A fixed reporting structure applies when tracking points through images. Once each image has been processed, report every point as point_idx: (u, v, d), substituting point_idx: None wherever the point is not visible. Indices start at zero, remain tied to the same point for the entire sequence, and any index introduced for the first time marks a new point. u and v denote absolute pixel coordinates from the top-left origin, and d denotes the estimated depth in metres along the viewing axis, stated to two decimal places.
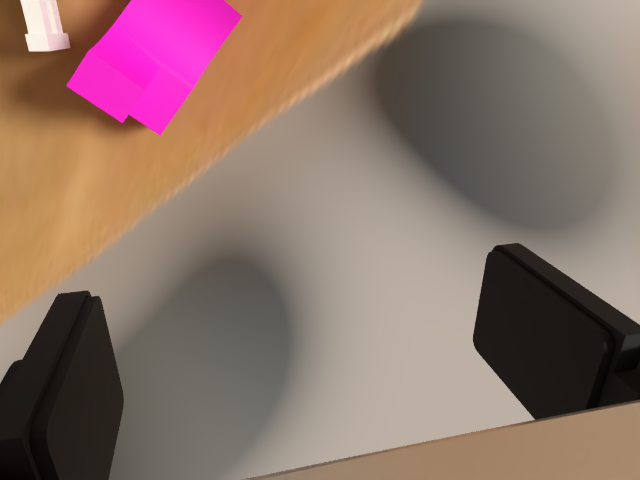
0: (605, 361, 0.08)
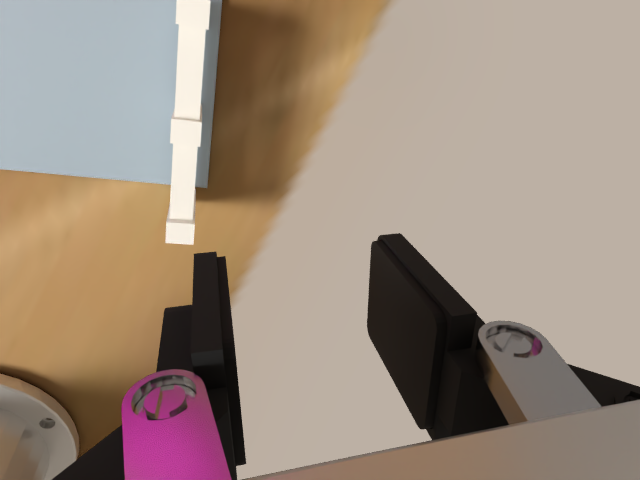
0: (440, 340, 0.09)
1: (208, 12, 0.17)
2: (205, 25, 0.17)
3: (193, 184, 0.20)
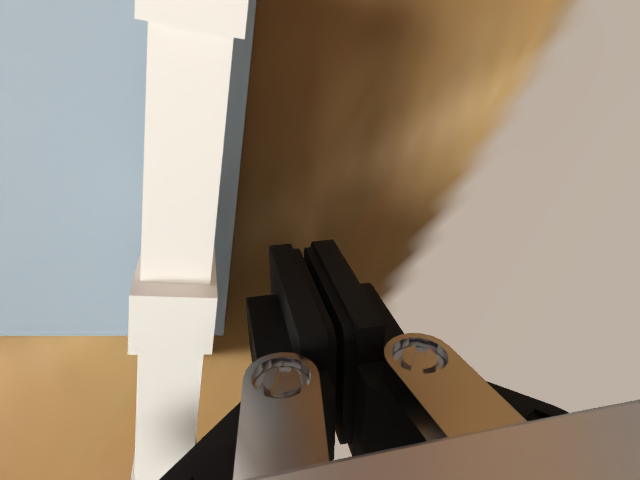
0: (350, 354, 0.08)
1: None
2: (235, 25, 0.05)
3: (192, 423, 0.08)
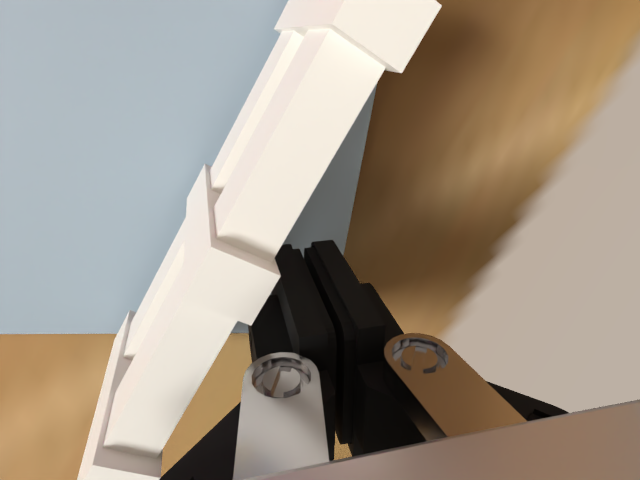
0: (350, 354, 0.08)
1: (421, 31, 0.06)
2: (400, 59, 0.06)
3: (193, 389, 0.08)
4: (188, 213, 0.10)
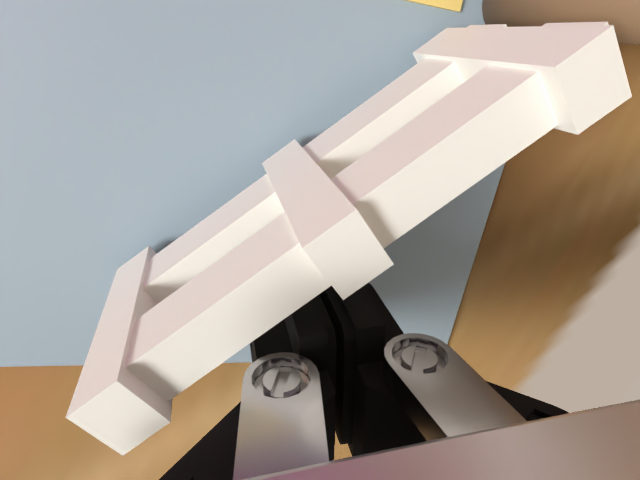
0: (350, 354, 0.08)
1: (607, 109, 0.07)
2: (583, 123, 0.07)
3: (245, 342, 0.08)
4: (275, 176, 0.10)
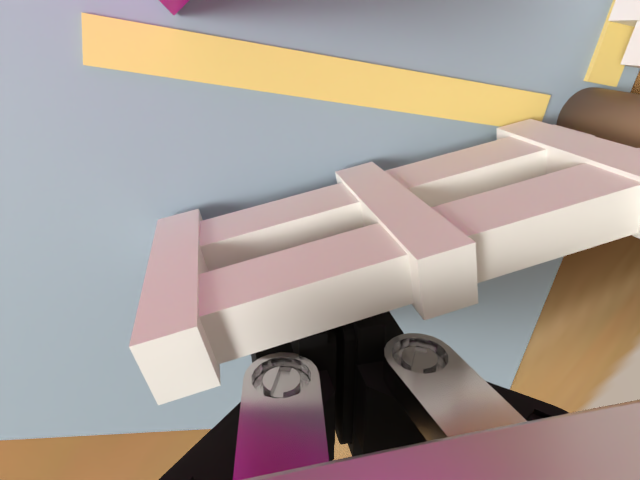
0: (350, 354, 0.08)
1: None
2: None
3: (315, 330, 0.08)
4: (358, 187, 0.10)
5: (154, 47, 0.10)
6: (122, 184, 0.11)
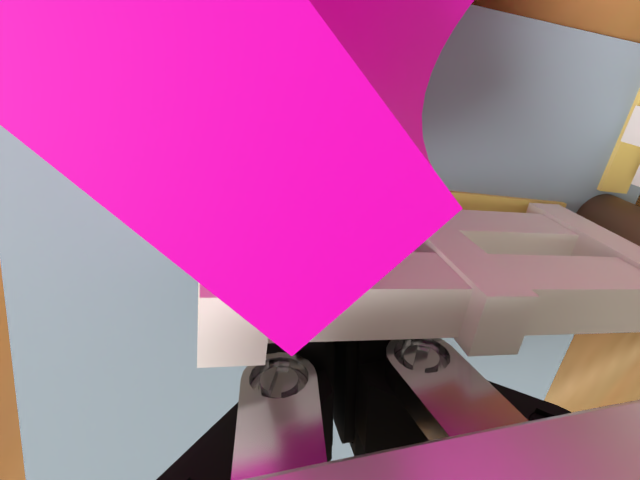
0: (352, 353, 0.08)
1: None
2: None
3: (364, 337, 0.08)
4: None
5: None
6: (183, 295, 0.12)
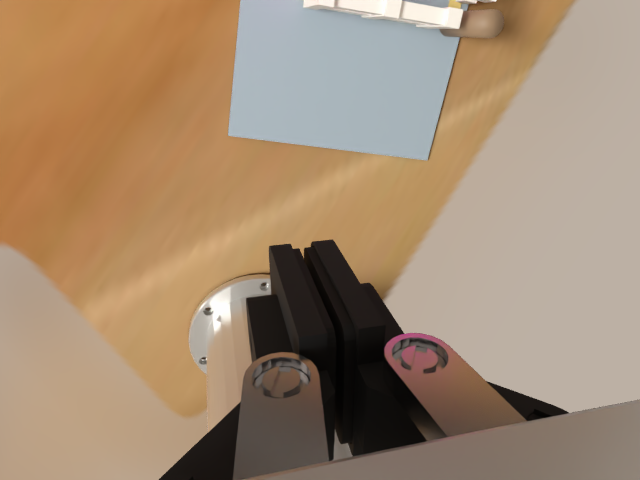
0: (350, 354, 0.08)
1: (453, 27, 0.31)
2: (448, 24, 0.31)
3: (357, 8, 0.30)
4: None
5: None
6: (294, 37, 0.34)
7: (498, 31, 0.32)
